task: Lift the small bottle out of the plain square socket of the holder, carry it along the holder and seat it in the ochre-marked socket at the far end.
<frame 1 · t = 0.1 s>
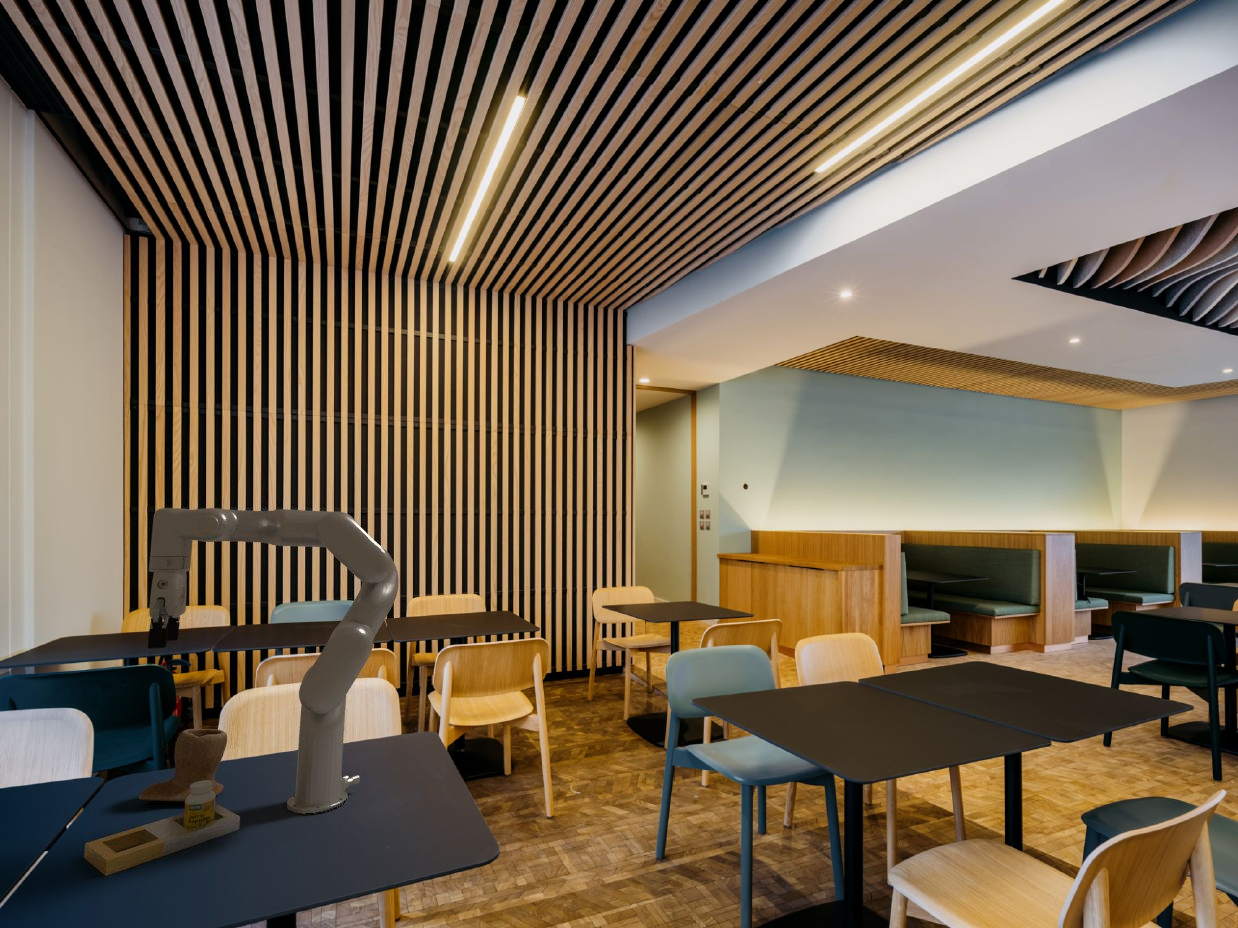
hand: (163, 643, 143), 37 cm above the table, tool pointing down, fingers open, 9 cm apart
holder: (165, 842, 131), on the table
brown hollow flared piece: (187, 797, 153), on the table
supplement bottle: (198, 832, 136), resting in holder
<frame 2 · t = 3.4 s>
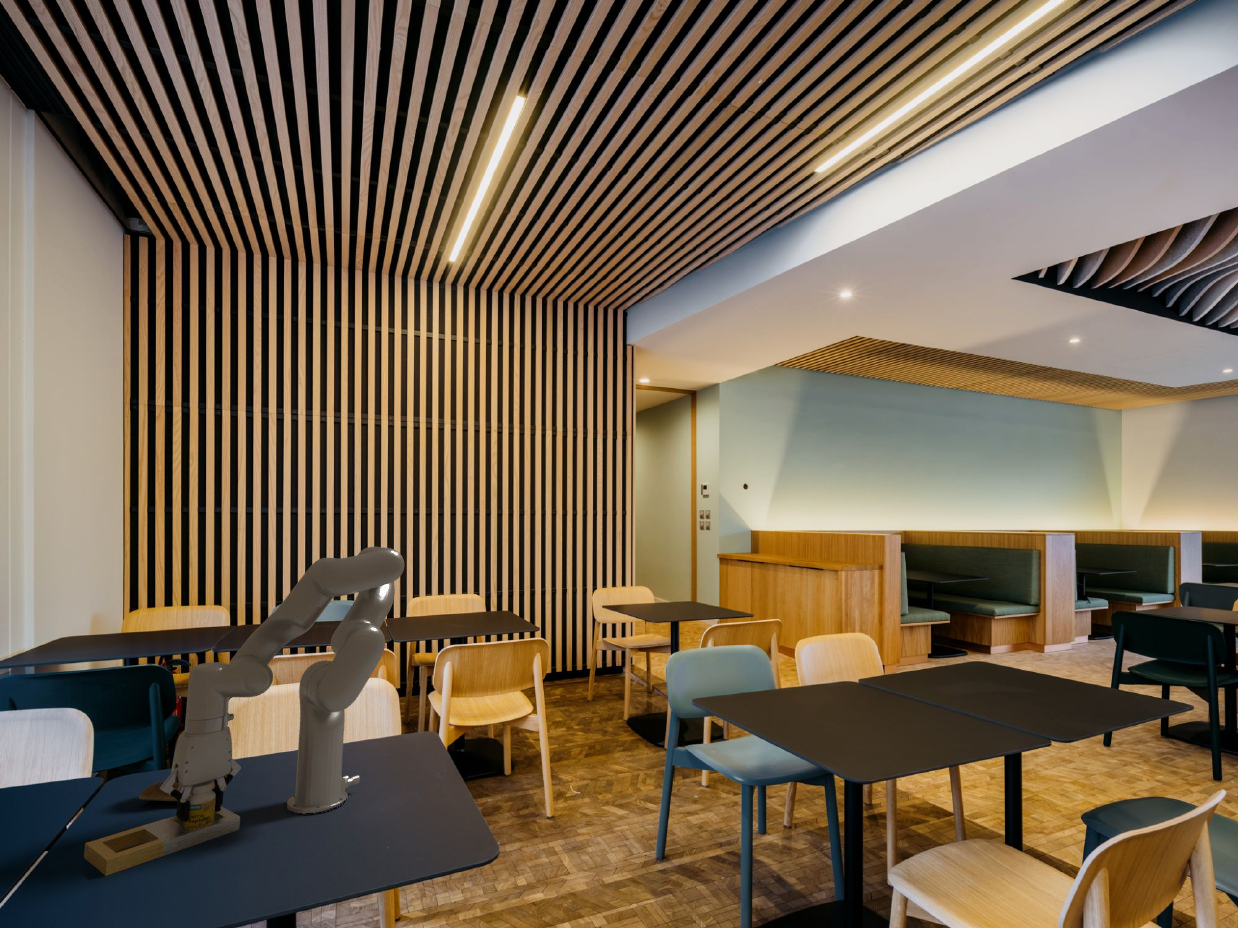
hand: (199, 813, 136), 4 cm above the table, tool pointing down, fingers closed on supplement bottle, 5 cm apart
supplement bottle: (198, 832, 136), resting in holder, touching gripper
everything else where it was.
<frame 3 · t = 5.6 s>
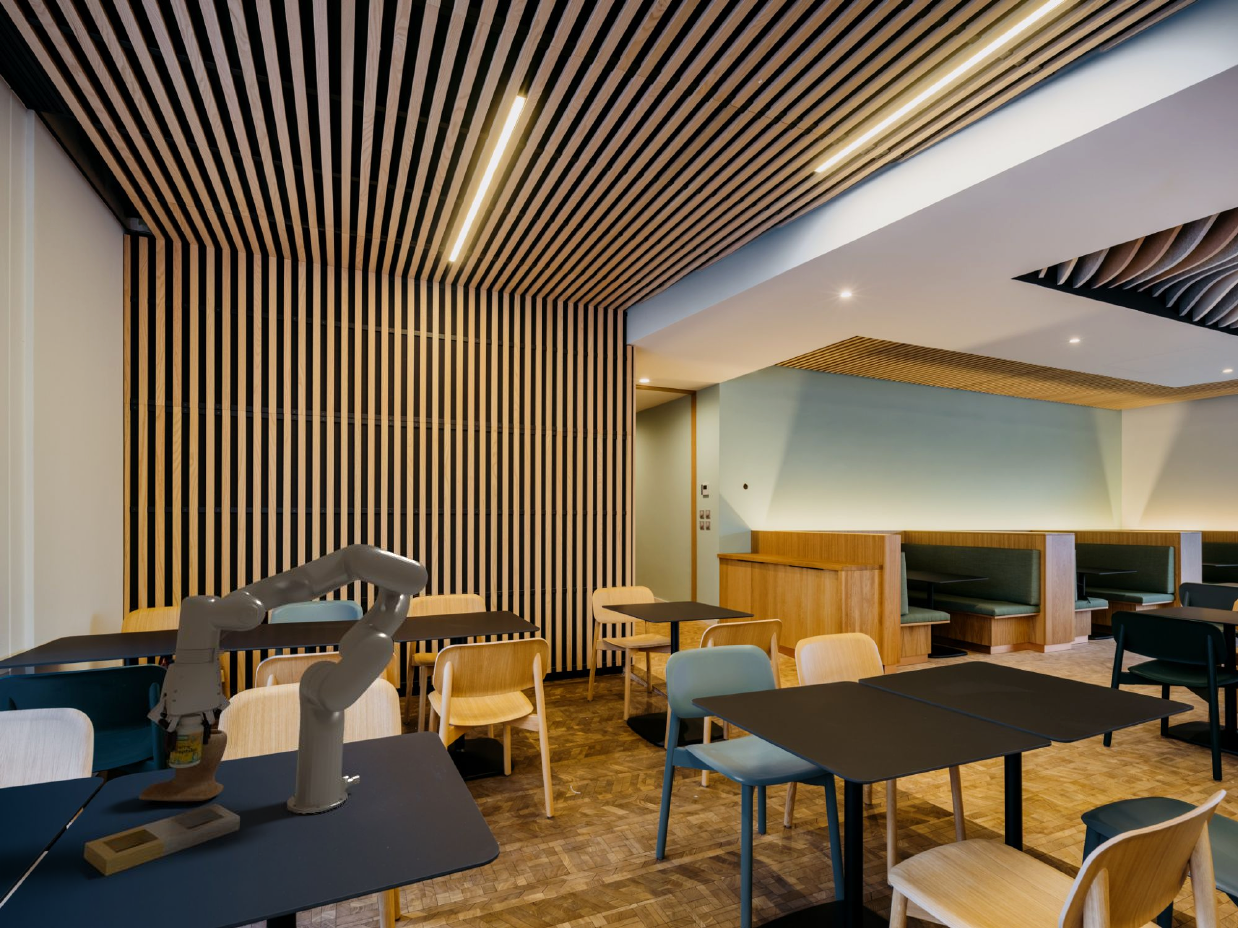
hand: (186, 745, 135), 18 cm above the table, tool pointing down, fingers closed on supplement bottle, 5 cm apart
supplement bottle: (184, 765, 134), point 14 cm above the table, touching gripper
everything else where it was.
when the fingers open (4 cm above the table, at t = 8.3 s): supplement bottle stays where it is, resting in holder.
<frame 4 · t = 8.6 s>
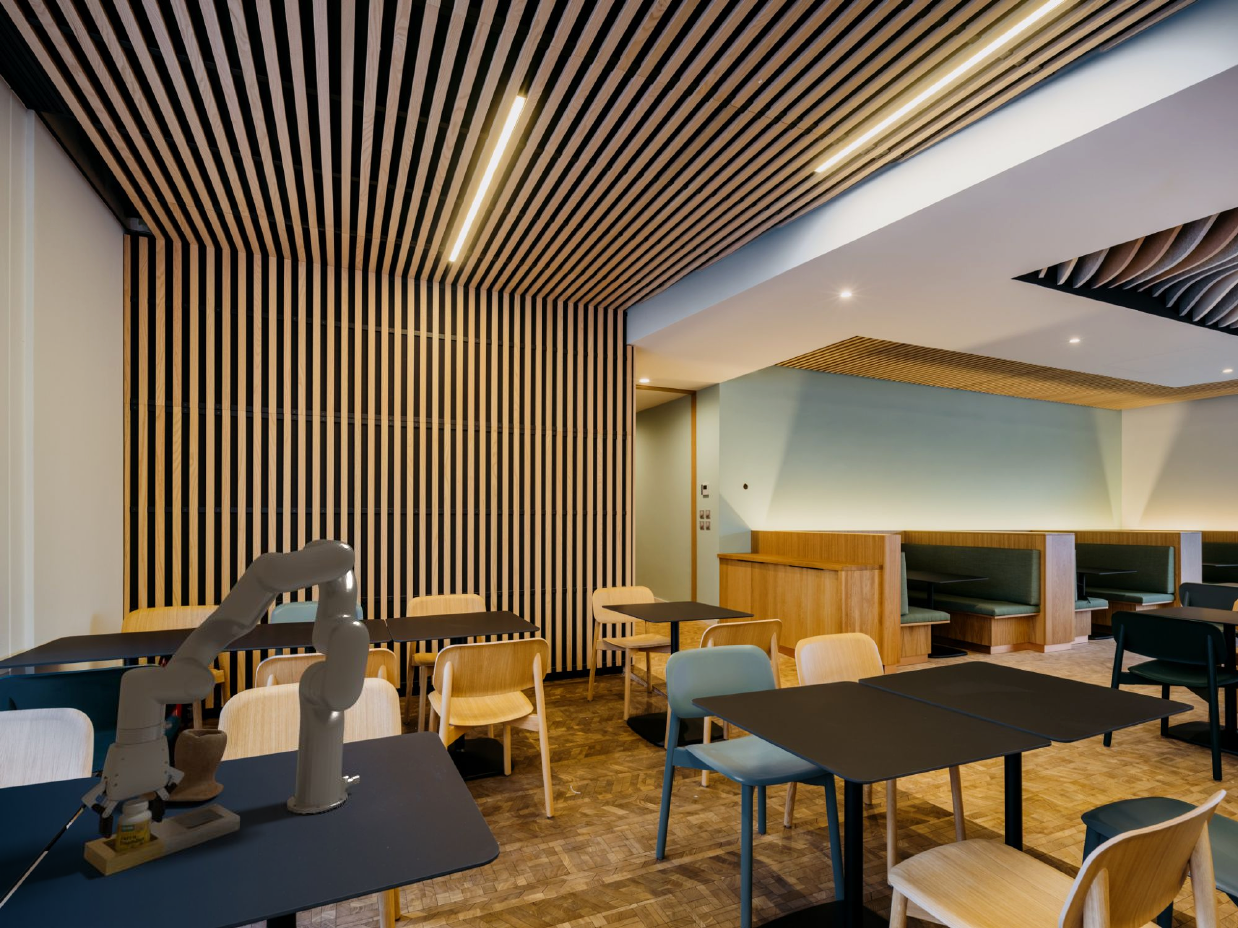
hand: (132, 827, 126), 5 cm above the table, tool pointing down, fingers open, 7 cm apart
supplement bottle: (131, 855, 126), resting in holder
everything else where it was.
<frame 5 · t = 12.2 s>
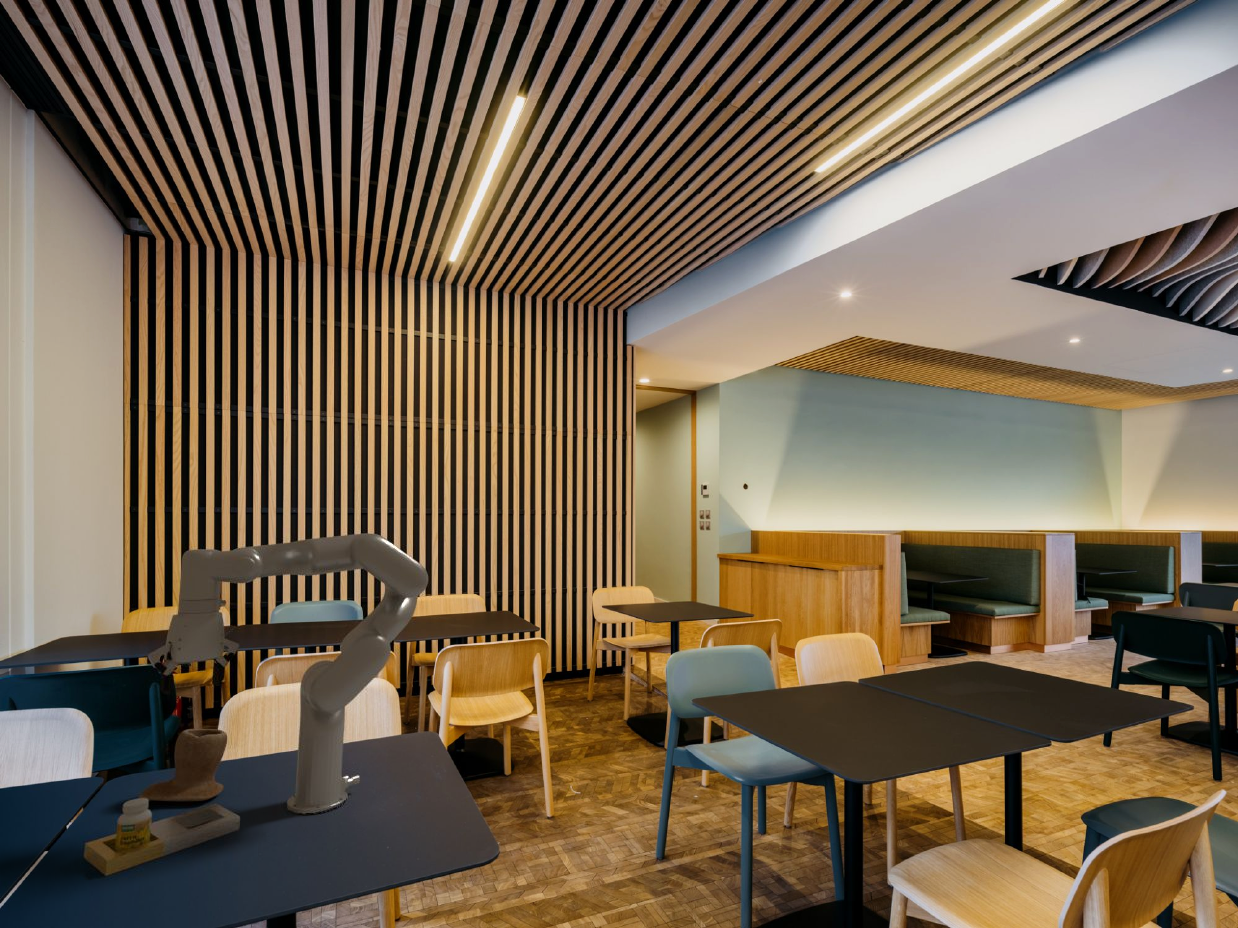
hand: (192, 689, 139), 28 cm above the table, tool pointing down, fingers open, 9 cm apart
nothing on the table moved.
at the end: supplement bottle 0.3 cm from the target spot on the holder, point 0.0 cm above the holder's base; supplement bottle tilted 0°; the gripper is holding nothing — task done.
